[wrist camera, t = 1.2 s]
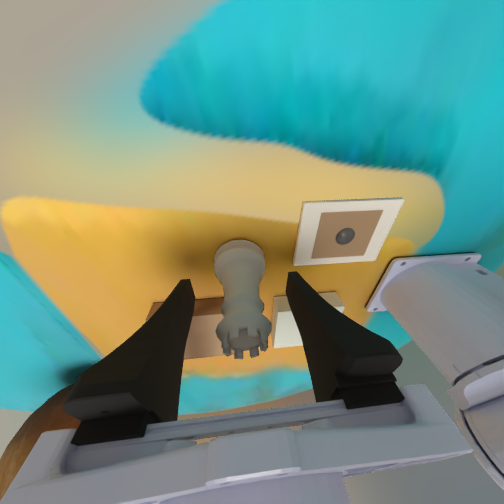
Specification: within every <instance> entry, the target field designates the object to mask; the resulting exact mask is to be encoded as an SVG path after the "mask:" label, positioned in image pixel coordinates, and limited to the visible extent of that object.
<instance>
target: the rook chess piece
mask: <svg viewBox="0 0 504 504" xmlns="http://www.w3.org/2000/svg"><path fill="white" fill-rule="evenodd" d="M214 270H215V274H216V277H217V278H218V280H219V281H220V283H221V284H222V286H223V290H224V303H223V304H222V307H221V313H222V315H223V316H224V318H223V319H222V320H221V322H220V323H219V324H218V325H217V328H216V330H215V332H216V335H217V338H218V339H219V340H220V341H221V342H222V345H221V348H223V353H224V354H225V355H226V356H229V355H231V349H232V350H234V357H235V359H243V351H246V350H250V356H251V358H253V357H256V356H259V350H258V347H259V346H260V349H261V351H266V349H267V348H268V336H269V334H270V333H271V331H272V324H271V322H270V321H269V320H268V318H266V317H265V316H264V315H263V314H262V312H263V310H264V303H263V302H262V300H261V299H260V296H259V283H260V281H261V279H262V277H263V275H264V273H265V259H264V253H263V251H262V250H261V248H260V247H259V246H258V245H256V244H255V243H253V242H251V241H246V240H233V241H230V242H228V243H226V244H223V245H222V246H221V247H220V248H219V249H218V250H217V251H216V254H215V257H214Z"/></svg>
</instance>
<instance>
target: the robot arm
mask: <svg viewBox="0 0 504 504" xmlns="http://www.w3.org/2000/svg"><path fill="white" fill-rule="evenodd" d="M480 258H481V255H480V254H478V253H467V254H452V255H437V256H422V257H407V258H396V259H394V260H393V261H392V262H391V263H390V265H389V267H388V269H387V270H386V272H385V274H384V276H383V278H382V279H381V281H380V283H379V285H378V287H377V288H376V290H375V292H374V294H373V296H372V297H371V299H370V301H369V303H368V305H367V306H366V310H367V311H368V312H375V311H387V310H388V311H389V312H390V313H391V315H392V316H393V317H394V318H395V319H396V320H397V322H398V323H399V324H400V325H401V326H402V327H403V329H404V330H405V331H406V332H407V333H408V334H409V336H410V337H411V338H412V339H413V340H414V342H416V344H417V345H418V346H419V347H420V349H421V350H422V351H423V352H424V353H425V354H426V356H427V357H428V358H429V359H430V360H431V361H432V363H433V364H434V365H435V366H436V367H437V368H438V370H439V371H440V372H441V373H442V374H443V375H444V376H445V378H446V379H447V380H448V381H449V382H450V383H451V385H452V386H454V387H453V388H452V389H450V390H448V391H447V393H448V394H449V396H450V397H451V398H452V399H453V400H454V402H455V405H454V415H455V419H456V422H457V425H458V427H459V429H460V431H461V432H460V431H459V429H458V428H457V427H456V425H455V424H454V423H453V422H452V420H451V419H450V418H449V416H448V415H447V414H446V412H445V411H444V410H443V408H442V407H441V406H440V404H439V403H438V402H437V400H436V399H435V398H434V396H433V395H432V394H431V393H430V391H429V390H428V388H427V387H426V386H425V385H424V384H415V385H408V386H402V387H400V388H398V387H397V385H396V383H395V382H396V378H395V376H394V375H393V372H394V371H395V370H396V369H397V368H398V367H399V366H400V365H401V363H402V360H403V358H402V357H401V355H400V354H399V352H398V351H397V350H396V348H395V347H394V346H393V344H392V343H391V342H390V341H389V340H387V339H385V338H383V337H381V336H379V335H377V334H375V333H373V332H371V331H370V330H368V329H366V328H364V327H363V326H361V325H359V324H358V323H356V322H354V321H353V320H351V319H350V318H348V317H347V316H345V315H344V314H342V313H341V312H340V311H338V310H337V309H336V308H334V307H333V306H332V305H331V304H329V303H328V302H327V301H326V300H325V299H323V298H322V297H321V296H320V295H319V294H318V293H317V292H316V291H315V290H314V289H313V288H312V287H311V286H310V285H309V284H308V283H307V282H306V281H305V280H304V279H303V278H302V277H301V276H300V274H299V273H298V272H297V271H295V272H288V279H287V286H286V295H287V299H288V303H289V306H290V309H291V311H292V314H293V317H294V319H295V322H296V325H297V327H298V330H299V333H300V336H301V339H302V343H303V347H304V351H305V355H306V359H307V363H308V367H309V371H310V375H311V380H312V384H313V389H314V394H315V399H316V403H310V404H302V405H294V406H287V407H279V408H271V409H264V410H256V411H248V412H240V413H233V414H225V415H218V416H210V417H203V418H194V419H187V420H179V421H177V417H178V405H179V394H180V385H181V376H182V368H183V360H184V353H185V347H186V342H187V338H188V334H189V330H190V325H191V321H192V317H193V313H194V306H195V296H194V292H193V288H192V285H191V281H190V279H183V280H180V282H179V283H178V284H177V286H176V287H175V288H174V290H173V291H172V292H171V294H170V295H169V296H168V298H167V299H166V300H165V301H164V303H163V304H162V305H161V306H160V307H159V308H158V310H157V311H156V312H155V313H154V314H153V315H152V316H151V317H150V319H149V320H148V321H147V322H146V323H145V324H144V325H143V326H142V327H141V328H140V329H138V330H137V331H136V332H135V333H134V334H133V335H132V336H131V337H130V338H128V339H127V340H126V341H125V342H124V343H123V344H121V345H120V346H119V347H118V348H116V349H115V350H114V351H113V352H111V353H110V354H109V355H107V356H106V357H105V358H103V359H102V360H101V361H99V362H98V363H96V364H95V365H93V366H92V367H91V368H89V369H88V370H86V371H85V372H83V373H82V374H81V375H80V377H79V378H78V380H77V381H76V383H75V385H74V386H73V388H72V390H71V391H70V393H69V395H68V396H67V398H66V400H65V402H64V403H63V405H62V409H63V411H64V412H65V413H67V414H69V415H71V416H73V417H75V418H77V419H79V420H81V423H80V425H79V427H78V429H62V430H54V431H46V432H44V433H42V434H41V436H40V437H39V439H38V441H37V442H36V444H35V446H34V447H33V449H32V450H31V452H30V454H29V455H28V457H27V459H26V460H25V462H24V463H23V465H22V467H21V468H20V470H19V472H18V473H17V475H16V476H15V478H14V480H13V481H12V483H11V485H10V486H9V488H8V490H7V491H6V493H5V494H4V496H3V498H2V499H1V501H0V504H351V501H350V498H349V495H348V492H347V489H346V486H345V483H344V480H343V478H344V477H349V476H355V475H359V474H365V473H371V472H377V471H381V470H387V469H393V468H399V467H404V466H410V465H415V464H421V463H427V462H433V461H439V460H443V459H447V458H450V457H455V456H459V455H463V454H466V453H470V452H472V453H473V455H474V456H475V457H476V459H477V460H478V461H479V463H480V464H481V465H482V467H483V468H484V469H485V470H486V472H487V473H488V474H489V475H490V476H491V477H492V479H493V480H494V481H495V482H496V483H497V484H498V485H499V486H500V487H501V488H502V489H503V490H504V278H502V277H500V276H499V275H497V274H495V273H493V272H491V271H490V270H488V269H486V268H484V267H482V266H481V265H479V264H477V262H478V261H479V260H480ZM298 425H302V430H291V429H288V428H283V427H290V426H298ZM276 428H278V429H276ZM254 431H255V432H254ZM247 432H248V433H247ZM218 436H222V437H218ZM210 437H217V438H215V439H213V440H211V441H210V442H206V443H201V444H197V442H196V441H193V440H197V439H204V438H210ZM196 444H197V445H196Z"/></svg>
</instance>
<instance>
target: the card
mask: <svg viewBox="0 0 504 504" xmlns="http://www.w3.org/2000/svg"><path fill="white" fill-rule="evenodd" d="M404 200H405V199H403V198H377V199H351V200H327V201H303V202H302V208H301V214H300V220H299V227H298V233H297V239H296V246H295V252H294V258H293V265H294V266H303V265H318V264H333V263H348V262H363V261H375V260H376V258H377V256H378V254H379V251H380V249H381V247H382V245H383V243H384V241H385V239H386V237H387V235H388V233H389V231H390V229H391V227H392V225H393V223H394V221H395V219H396V217H397V215H398V213H399V211H400V208H401V206H402V204H403V202H404Z"/></svg>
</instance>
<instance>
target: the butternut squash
mask: <svg viewBox="0 0 504 504" xmlns="http://www.w3.org/2000/svg"><path fill="white" fill-rule="evenodd" d="M74 385H75V383H74V384H72V385H70V386H68V387H66V388H64V389H62V390H60V391H59V392H57V393H56V394H55V395H53V396H52V397H51V398H49V399H48V400H47V401H46V402H45V403H44V404H43V405H42V406H41V407H39V408H38V409H37V410H36V411H35V412H34V413H33V414H32V415H30V417H29V418H28V419H27V420H26V421H25V423H24V424H23V425H22V427H21V428H20V429H19V431H18V432H17V434H16V435H15V436H14V437H13V439H12V440H11V441H10V443H9V444H8V446H7V448H6V450H5V452H4V453H3V455H2V457H1V459H0V501H1V499H2V498H3V496H4V494H5V493H6V491H7V490H8V488H9V486H10V485H11V483H12V481H13V480H14V478H15V476H16V475H17V473H18V472H19V470H20V468H21V467H22V465H23V463H24V462H25V460H26V459H27V457H28V455H29V454H30V452H31V450H32V449H33V447H34V446H35V444H36V442H37V441H38V439H39V437H40V436H41V434H42V433H44V432H46V431H54V430H62V429H78V427H79V425H80V423H81V420H79V419H77V418H75V417H73V416H71V415H69V414H67V413H65V412H64V411H63V409H62V405H63V403H64V402H65V400H66V398H67V396H68V395H69V393H70V391H71V390H72V388H73V386H74Z"/></svg>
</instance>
